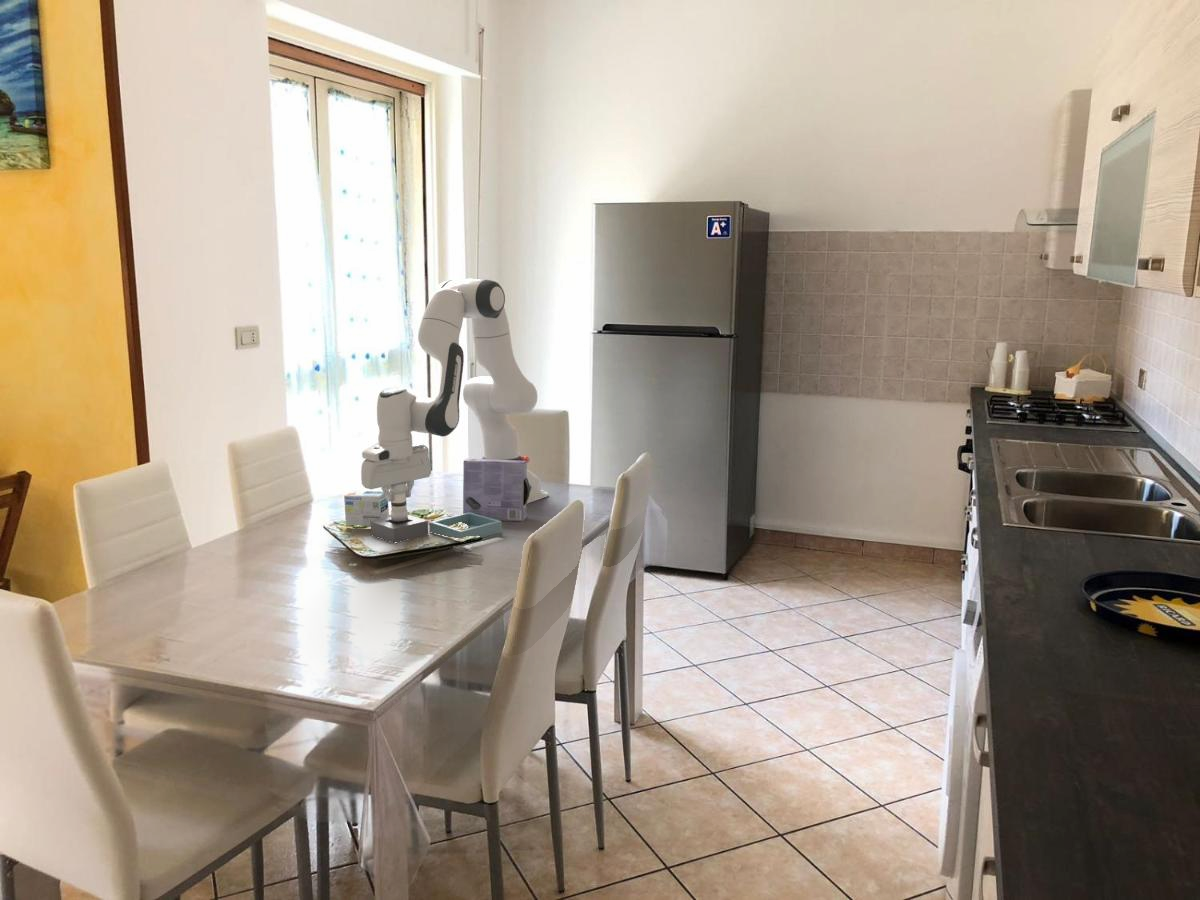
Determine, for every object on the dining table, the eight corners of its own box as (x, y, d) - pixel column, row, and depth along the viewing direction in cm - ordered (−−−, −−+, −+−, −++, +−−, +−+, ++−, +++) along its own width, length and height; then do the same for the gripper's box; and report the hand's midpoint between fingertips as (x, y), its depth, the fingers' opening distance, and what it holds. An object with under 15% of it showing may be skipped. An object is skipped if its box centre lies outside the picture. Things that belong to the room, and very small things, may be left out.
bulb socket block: (405, 530, 263) (404, 513, 262) (428, 538, 255) (427, 520, 254) (371, 538, 255) (370, 521, 254) (394, 547, 248) (393, 528, 247)
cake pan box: (530, 517, 276) (529, 458, 273) (527, 522, 271) (526, 462, 268) (466, 516, 278) (464, 457, 274) (462, 520, 273) (460, 461, 270)
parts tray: (469, 525, 267) (469, 512, 267) (502, 535, 258) (501, 521, 257) (429, 536, 257) (429, 522, 257) (461, 546, 248) (461, 531, 247)
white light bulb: (401, 515, 257) (399, 480, 255) (411, 518, 254) (409, 483, 252) (388, 519, 254) (386, 483, 252) (397, 522, 251) (395, 485, 249)
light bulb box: (390, 526, 267) (388, 490, 265) (382, 533, 260) (380, 495, 258) (354, 526, 268) (351, 489, 266) (345, 532, 261) (343, 495, 259)
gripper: (420, 441, 260) (423, 490, 263) (356, 453, 245) (359, 504, 248) (434, 444, 256) (436, 493, 258) (369, 456, 241) (373, 508, 244)
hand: (398, 499), depth 253 cm, fingers closed on white light bulb, 4 cm apart
